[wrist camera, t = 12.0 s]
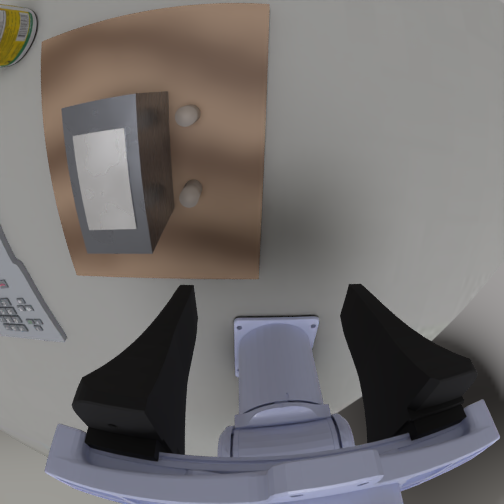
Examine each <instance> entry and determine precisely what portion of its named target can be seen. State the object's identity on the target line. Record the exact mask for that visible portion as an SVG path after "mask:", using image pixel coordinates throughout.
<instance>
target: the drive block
mask: <svg viewBox="0 0 504 504" xmlns="http://www.w3.org/2000/svg"><path fill="white" fill-rule="evenodd" d="M61 111H62V123H63V133H64V142H65V149H66V157H67V163H68V170H69V176H70V181H71V187H72V192H73V197H74V202H75V206H76V211H77V215H78V219H79V224H80V228H81V232H82V236H83V239H84V243H85V247H86V250H87V254H153V252H154V250H155V247H156V245H157V243H158V241H159V239H160V237H161V235H162V233H163V231H164V228H165V226H166V224H167V222H168V220H169V218H170V216H171V214H172V212H173V210H174V208H175V204H174V193H173V180H172V166H171V150H170V130H169V98H168V91H163V92H148V93H136V94H129V95H123V96H117V97H111V98H106V99H100V100H95V101H91V102H86V103H82V104H77V105H73V106H69V107H65V108H61Z"/></svg>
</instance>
